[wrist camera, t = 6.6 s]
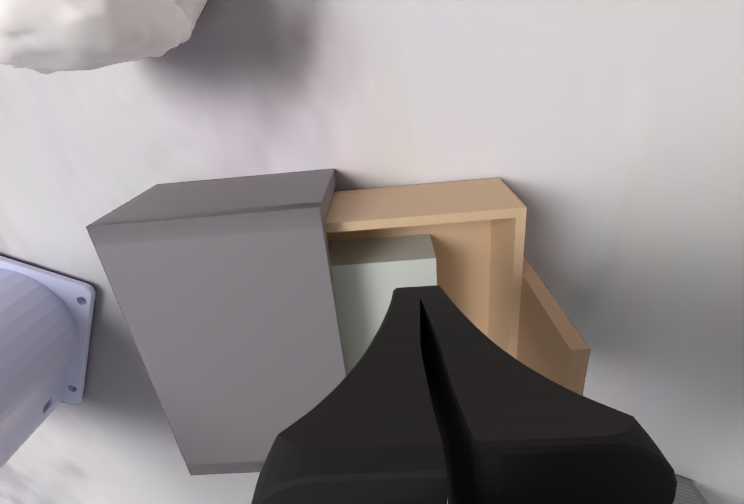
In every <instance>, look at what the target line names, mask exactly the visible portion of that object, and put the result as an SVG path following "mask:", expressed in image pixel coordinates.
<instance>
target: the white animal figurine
mask: <svg viewBox="0 0 744 504" xmlns="http://www.w3.org/2000/svg"><path fill="white" fill-rule="evenodd" d="M206 3H207V0H0V63H1V64H5V65H11V66H13V67H16V68H24V67H25V68H28V69H31V70H34V71H36V72H39V73H43V74H49V73H53V72H55V71H75V70H93V69H97V68H101V67H104V66H108V65H112V64H117V63H122V62H128V61H134V60H139V59H142V58H145V57H148V56H149V57H161V56H163V55H164V54H165V53H166V52H167V51H168V50H169V49H171V48H175V47H177V46H178V45H179V44H181V43H184V42H186V41H187V40H188V39H189V38H190V37H191V31H192V30H193V29H194V28H195V25H196V20H197V19H198V17H199V16H200V14H201V12H202V10H203V8H204V6H205V4H206Z"/></svg>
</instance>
